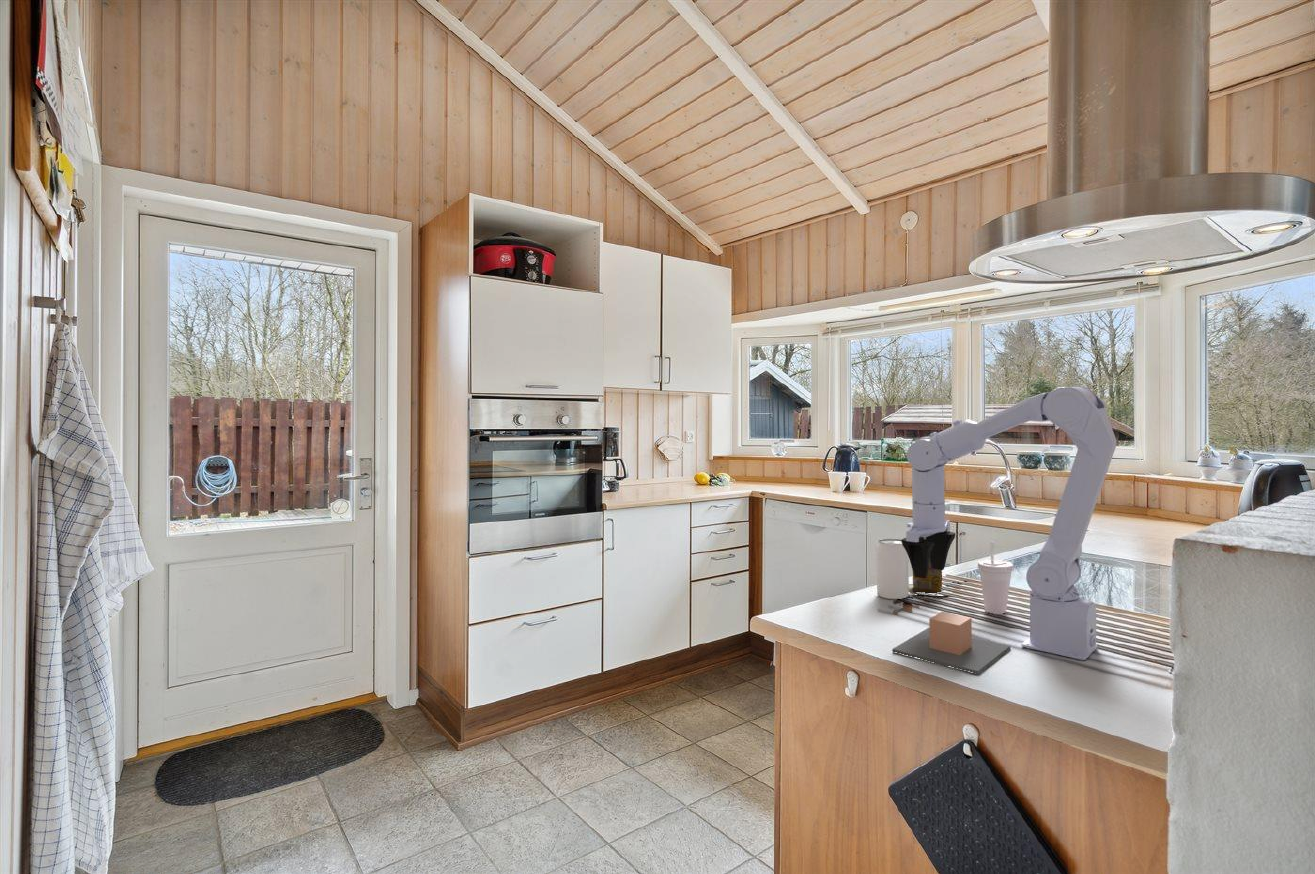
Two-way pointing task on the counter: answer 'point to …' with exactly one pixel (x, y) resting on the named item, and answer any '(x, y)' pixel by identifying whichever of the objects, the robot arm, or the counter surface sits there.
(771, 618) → the counter surface
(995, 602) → the smoothie
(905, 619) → the counter surface
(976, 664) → the mat
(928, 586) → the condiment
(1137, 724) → the counter surface
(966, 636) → the cube
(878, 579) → the can
